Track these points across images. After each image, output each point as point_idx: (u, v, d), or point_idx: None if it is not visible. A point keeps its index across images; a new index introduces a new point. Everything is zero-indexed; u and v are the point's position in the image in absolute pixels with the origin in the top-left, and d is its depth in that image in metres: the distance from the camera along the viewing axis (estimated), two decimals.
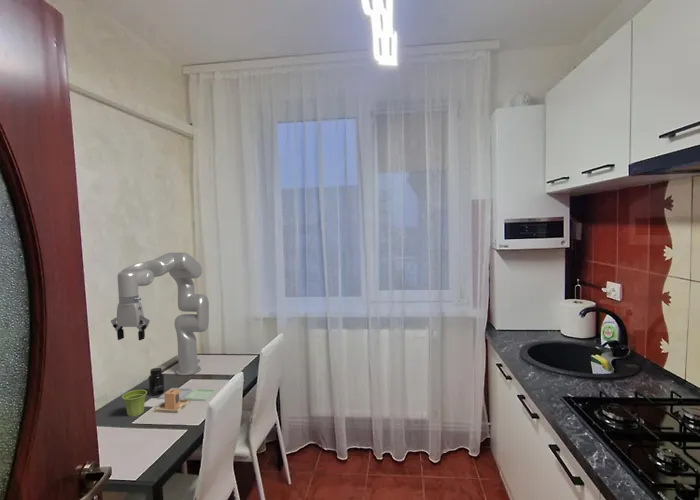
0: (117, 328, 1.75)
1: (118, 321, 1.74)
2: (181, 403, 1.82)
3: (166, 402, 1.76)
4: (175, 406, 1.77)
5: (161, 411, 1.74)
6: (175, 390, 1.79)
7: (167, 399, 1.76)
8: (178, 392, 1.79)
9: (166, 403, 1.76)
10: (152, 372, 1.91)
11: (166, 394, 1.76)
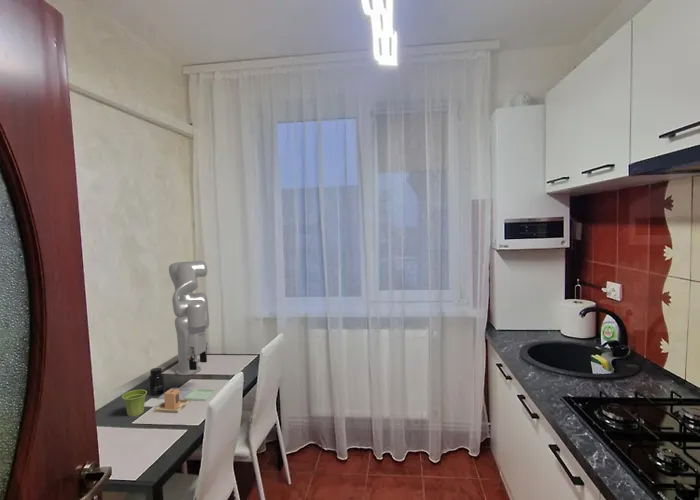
0: (194, 359, 1.83)
1: (197, 351, 1.84)
2: (181, 403, 1.82)
3: (166, 402, 1.76)
4: (175, 406, 1.77)
5: (161, 411, 1.74)
6: (175, 390, 1.79)
7: (167, 399, 1.76)
8: (178, 392, 1.79)
9: (166, 403, 1.76)
10: (152, 372, 1.91)
11: (166, 394, 1.76)
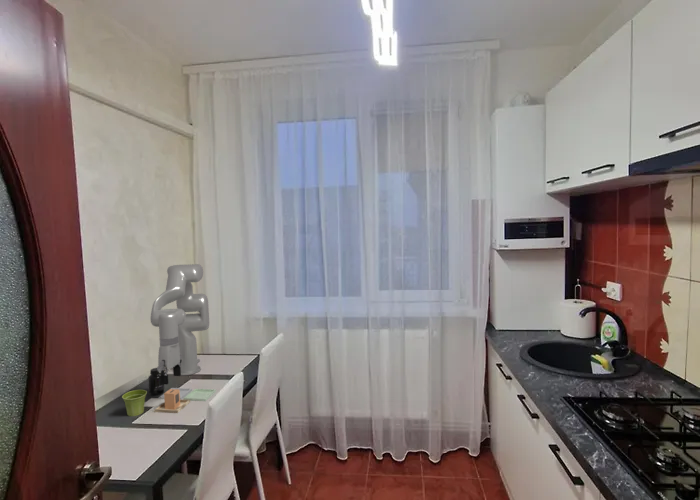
0: (166, 372, 1.72)
1: (169, 364, 1.73)
2: (181, 403, 1.82)
3: (166, 402, 1.76)
4: (175, 406, 1.77)
5: (161, 411, 1.74)
6: (175, 390, 1.79)
7: (167, 399, 1.76)
8: (178, 392, 1.79)
9: (166, 403, 1.76)
10: (152, 372, 1.91)
11: (166, 394, 1.76)
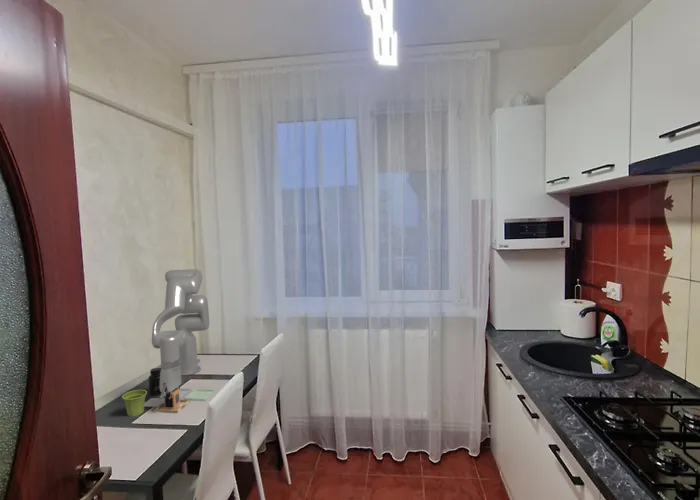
0: (170, 396, 1.75)
1: (171, 387, 1.74)
2: (181, 403, 1.82)
3: None
4: (175, 406, 1.77)
5: (161, 411, 1.74)
6: (175, 390, 1.79)
7: None
8: (178, 392, 1.79)
9: None
10: (152, 372, 1.91)
11: None
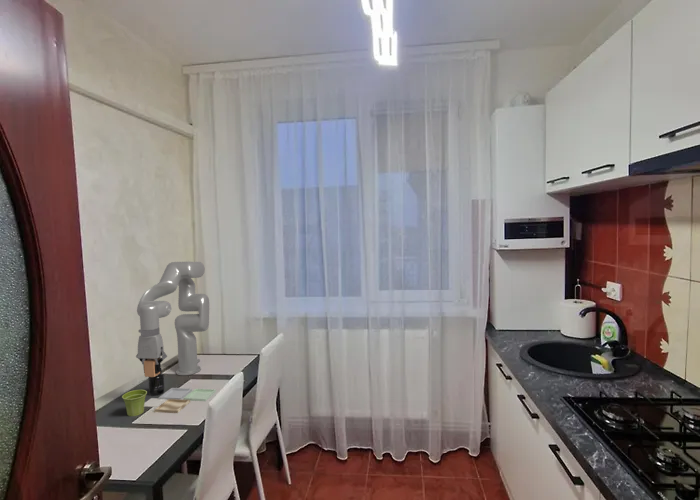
0: None
1: None
2: (181, 403, 1.82)
3: (154, 369, 1.80)
4: None
5: (161, 411, 1.74)
6: None
7: None
8: None
9: None
10: None
11: (154, 361, 1.80)
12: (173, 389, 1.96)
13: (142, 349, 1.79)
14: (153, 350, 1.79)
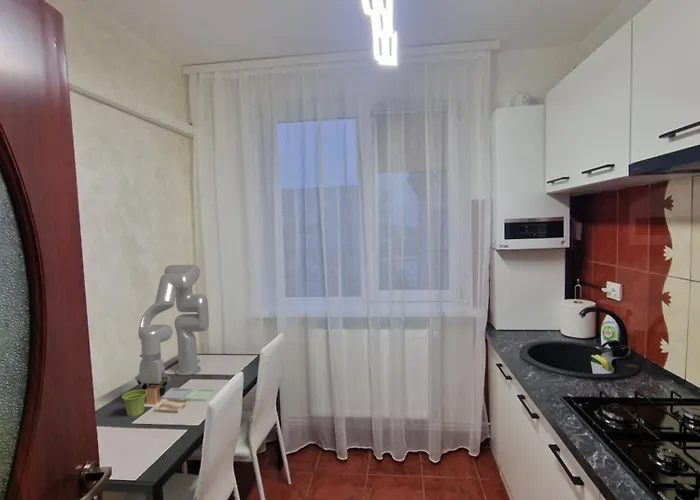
0: None
1: None
2: (181, 403, 1.82)
3: (156, 397, 1.81)
4: None
5: (161, 411, 1.74)
6: (152, 386, 1.84)
7: (157, 393, 1.82)
8: None
9: (156, 398, 1.82)
10: None
11: (156, 389, 1.81)
12: (173, 389, 1.96)
13: (143, 374, 1.80)
14: (154, 375, 1.79)
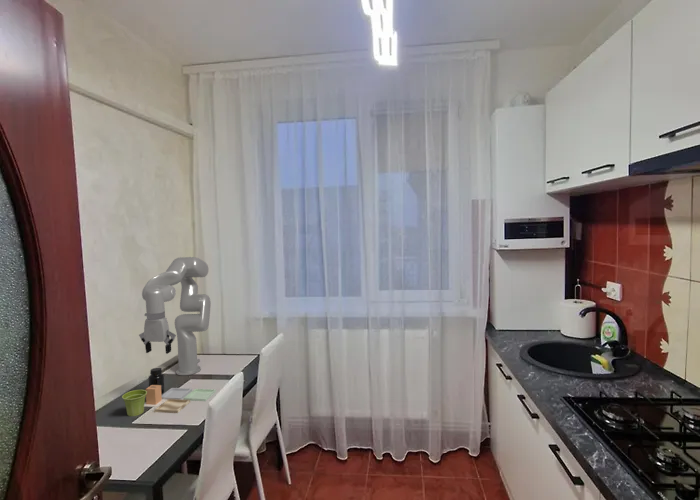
0: None
1: None
2: (181, 403, 1.82)
3: (156, 397, 1.81)
4: None
5: (161, 411, 1.74)
6: (152, 386, 1.84)
7: (157, 393, 1.82)
8: None
9: (156, 398, 1.82)
10: (152, 372, 1.91)
11: (156, 389, 1.81)
12: (173, 389, 1.96)
13: (148, 332, 1.83)
14: (159, 333, 1.83)
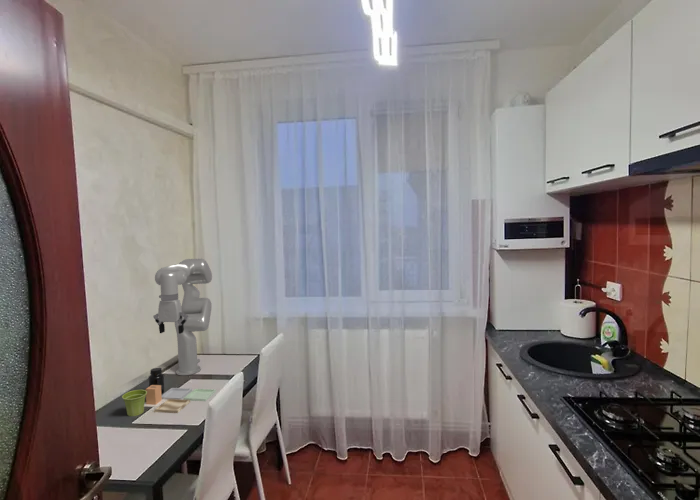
0: None
1: None
2: (181, 403, 1.82)
3: (156, 397, 1.81)
4: None
5: (161, 411, 1.74)
6: (152, 386, 1.84)
7: (157, 393, 1.82)
8: None
9: (156, 398, 1.82)
10: (152, 372, 1.91)
11: (156, 389, 1.81)
12: (173, 389, 1.96)
13: (162, 313, 1.93)
14: (173, 314, 1.92)
